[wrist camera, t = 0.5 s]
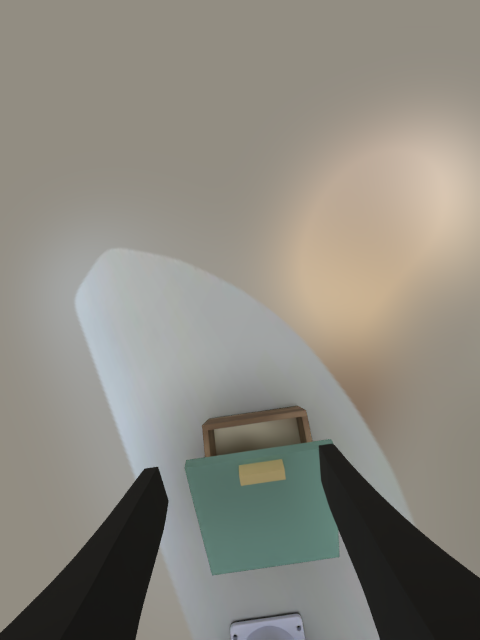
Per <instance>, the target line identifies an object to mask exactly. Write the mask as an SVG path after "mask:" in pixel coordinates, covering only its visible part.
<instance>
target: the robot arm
mask: <svg viewBox="0 0 480 640" xmlns="http://www.w3.org/2000/svg"><path fill="white" fill-rule="evenodd" d="M319 459H320V474H321V483H322V486H323V489H324V492H325V496H326V499H327V502H328V505H329V508H330V510H331V513H332V515H333V518H334V520H335V523H336V525H337V527H338V530H339V532H340V535H341V537H342V539H343V542H344V544H345V547H346V549H347V551H348V554H349V556H350V559H351V561H352V563H353V566H354V568H355V571H356V573H357V575H358V578H359V580H360V583H361V586H362V588H363V591H364V593H365V596H366V599H367V602H368V605H369V608H370V611H371V614H372V617H373V620H374V623H375V626H376V628H377V631H378V634H379V637H380V640H480V578H479V577H478V576H476V575H475V574H473V573H472V572H471V571H470V570H468V569H467V568H466V567H464V566H463V565H462V564H460V563H459V562H458V561H456V560H455V559H454V558H452V557H451V556H450V555H449V554H447V553H446V552H445V551H444V550H442V549H441V548H440V547H439V546H437V545H436V544H435V543H434V542H432V541H431V540H430V539H429V538H428V537H426V536H425V535H424V534H423V533H422V532H421V531H419V530H418V529H417V528H416V527H415V526H413V525H412V524H411V523H410V522H409V521H408V520H407V519H406V518H404V517H403V516H402V515H401V514H400V513H399V512H398V511H397V510H396V509H395V508H394V507H393V506H391V505H390V504H389V503H388V502H387V501H386V500H385V499H384V498H383V497H382V496H381V495H380V494H379V493H378V492H377V491H376V490H375V489H374V488H373V487H372V486H371V485H370V484H369V483H368V482H367V481H366V480H365V479H364V478H363V477H362V476H361V475H360V473H359V472H358V471H357V470H356V469H355V468H354V467H353V466H352V465H351V464H350V462H349V461H348V460H347V459H346V458H345V457H344V456H343V454H342V453H341V452H340V451H339V450H338V448H337V447H336V446H335V445H334V444H325V445H319ZM167 507H168V498H167V494H166V491H165V488H164V485H163V481H162V478H161V475H160V472H159V469H158V467H153V468H146V469H144V470H143V471H142V473H141V474H140V475H139V477H138V478H137V479H136V481H135V482H134V483H133V485H132V486H131V487H130V489H129V490H128V491H127V493H126V494H125V495H124V497H123V498H122V499H121V501H120V502H119V503H118V505H117V506H116V507H115V508H114V510H113V511H112V512H111V514H110V515H109V516H108V518H107V519H106V520H105V521H104V522H103V524H102V525H101V526H100V527H99V529H98V530H97V531H96V532H95V533H94V535H93V536H92V537H91V538H90V539H89V541H88V542H87V543H86V544H85V545H84V547H83V548H82V549H81V550H80V551H79V552H78V554H77V555H76V556H75V557H74V558H73V559H72V561H71V562H70V563H69V564H68V565H67V566H66V567H65V568H64V570H62V571H61V573H60V574H59V575H58V576H57V577H56V578H55V579H54V580H53V581H52V582H51V583H50V584H49V585H48V586H47V587H46V588H45V589H44V590H43V591H42V592H41V593H40V594H39V596H37V597H36V598H35V599H34V600H33V601H32V602H31V603H30V604H29V606H27V607H26V608H25V609H24V611H22V612H21V613H20V614H19V615H18V616H17V617H16V618H15V619H14V620H13V621H12V623H10V624H9V625H8V626H7V627H6V628H5V629H4V630H3V631H2V632H1V633H0V640H135V639H136V634H137V629H138V625H139V620H140V616H141V611H142V608H143V604H144V599H145V596H146V592H147V589H148V585H149V582H150V578H151V574H152V571H153V567H154V564H155V560H156V556H157V553H158V549H159V545H160V542H161V538H162V534H163V530H164V525H165V520H166V514H167ZM297 625H300V627H299V628H297ZM234 634H236V635H237V636H236V637H234ZM230 635H231V640H305V635H304V629H303V623H302V618H301V616H300V615H299V614H291V615H284V616H277V617H270V618H263V619H256V620H249V621H243V622H236V623H232V625H231V627H230Z"/></svg>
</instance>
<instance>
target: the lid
mask: <svg viewBox="0 0 480 640" xmlns="http://www.w3.org/2000/svg"><path fill="white" fill-rule="evenodd" d="M325 444H333V442H332V440H331V439H328V440H321V441H314V442H307V443H301V444H294V445H287V446H280V447H273V448H266V449H260V450H253V451H246V452H239V453H232V454H225V455H218V456H212V457H205V458H198V459H191V460H186V464H185V472H186V475H187V479H188V483H189V487H190V491H191V495H192V499H193V503H194V507H195V510H196V514H197V518H198V522H199V526H200V530H201V534H202V538H203V541H204V545H205V549H206V553H207V557H208V561H209V565H210V569H211V573H212V575H219V574H225V573H232V572H239V571H246V570H253V569H260V568H267V567H274V566H280V565H287V564H294V563H301V562H308V561H315V560H322V559H329V558H335V557H339V540H338V527H337V525H336V523H335V520H334V518H333V515H332V513H331V510H330V508H329V505H328V502H327V499H326V496H325V492H324V489H323V486H322V483H321V474H320V459H319V445H325Z"/></svg>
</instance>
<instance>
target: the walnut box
mask: <svg viewBox="0 0 480 640" xmlns="http://www.w3.org/2000/svg"><path fill="white" fill-rule="evenodd" d="M202 429H203V440H204V450H205V457H212V456H218V455H225V454H232V453H239V452H246V451H253V450H260V449H266V448H273V447H280V446H287V445H294V444H301V443H307V442H312V438H311V433H310V428H309V423H308V418H307V413H306V410H305V409H303V408H301V407H299V406H293V407H286V408H279V409H272V410H265V411H259V412H252V413H245V414H238V415H231V416H224V417H218V418H211V419H208V420H207V421H206V422H205V423H204V424H203V425H202Z"/></svg>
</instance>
